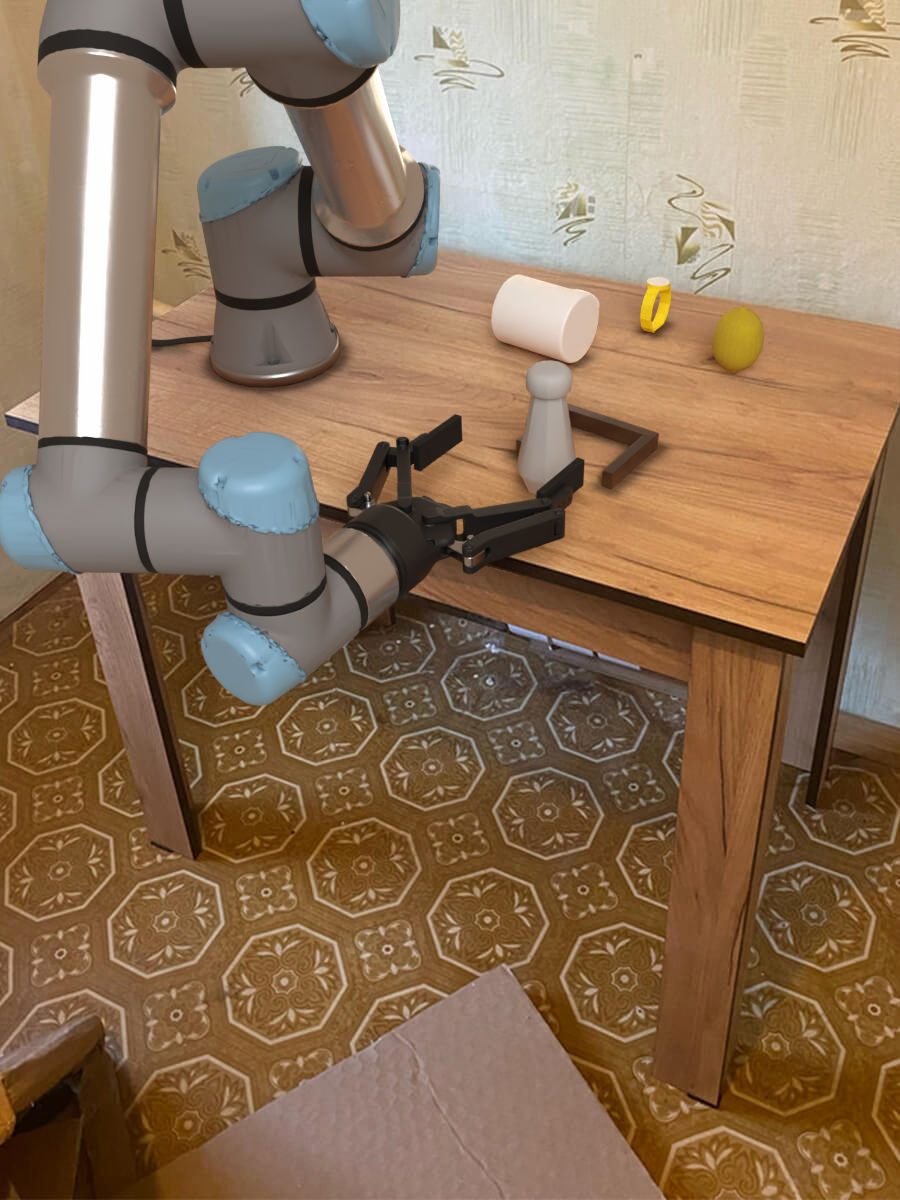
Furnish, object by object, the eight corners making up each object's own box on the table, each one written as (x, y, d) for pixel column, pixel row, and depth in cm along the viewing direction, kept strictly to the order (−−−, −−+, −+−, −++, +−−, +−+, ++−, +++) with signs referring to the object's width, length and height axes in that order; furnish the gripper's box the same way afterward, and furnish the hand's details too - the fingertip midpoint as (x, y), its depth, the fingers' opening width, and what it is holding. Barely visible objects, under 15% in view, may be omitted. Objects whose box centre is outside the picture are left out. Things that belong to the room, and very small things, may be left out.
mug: (560, 374, 127) (562, 309, 122) (490, 351, 132) (489, 288, 127) (616, 335, 134) (620, 272, 129) (548, 314, 139) (549, 253, 134)
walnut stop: (515, 454, 114) (516, 439, 113) (564, 416, 120) (564, 402, 118) (611, 489, 108) (612, 474, 107) (657, 447, 114) (659, 432, 113)
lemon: (737, 389, 123) (746, 322, 117) (698, 372, 126) (706, 306, 121) (768, 372, 125) (779, 306, 120) (730, 356, 129) (738, 291, 123)
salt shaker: (504, 486, 110) (504, 368, 101) (543, 463, 113) (545, 346, 104) (549, 509, 106) (552, 388, 98) (587, 484, 109) (593, 365, 101)
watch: (653, 340, 132) (658, 293, 129) (632, 335, 134) (636, 288, 130) (674, 320, 136) (679, 274, 132) (653, 316, 137) (657, 270, 134)
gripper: (265, 549, 98) (414, 443, 110) (494, 659, 86) (633, 526, 98) (252, 478, 93) (410, 376, 106) (493, 584, 81) (639, 454, 94)
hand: (517, 448), depth 102 cm, fingers open, 13 cm apart
